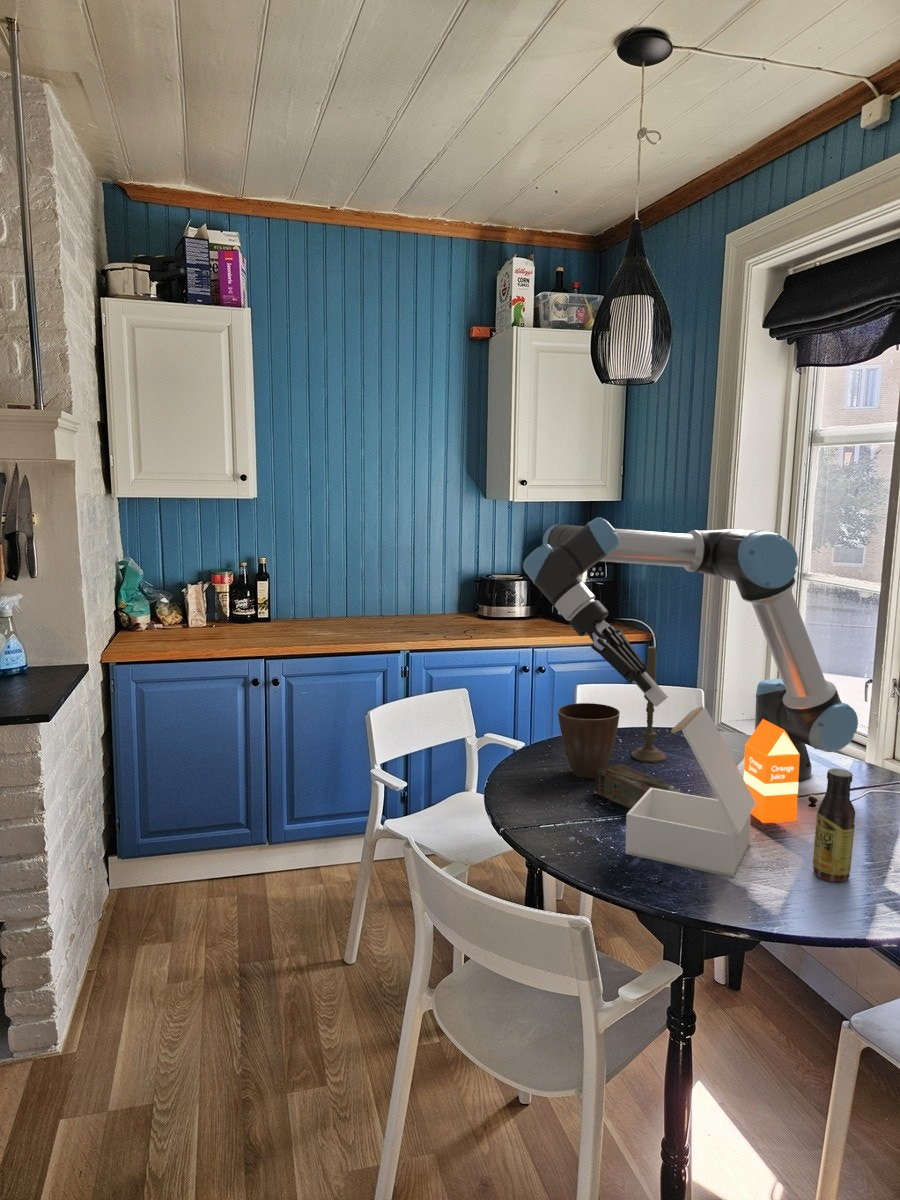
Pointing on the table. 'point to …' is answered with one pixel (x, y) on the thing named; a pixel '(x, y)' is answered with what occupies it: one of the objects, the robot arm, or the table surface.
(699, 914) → the table surface
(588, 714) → the plant pot
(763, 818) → the orange juice
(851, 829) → the sauce bottle
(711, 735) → the mailer lid
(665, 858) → the box
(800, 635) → the robot arm
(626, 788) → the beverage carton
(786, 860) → the table surface
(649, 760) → the candlestick holder
